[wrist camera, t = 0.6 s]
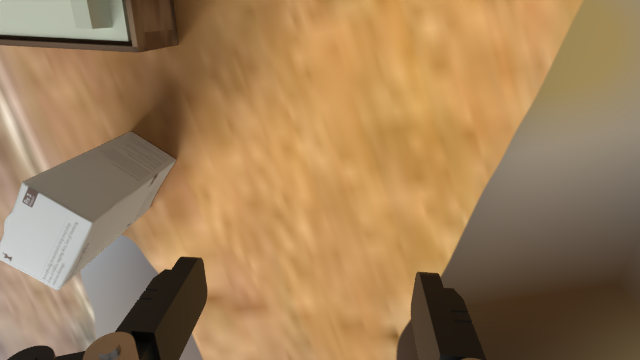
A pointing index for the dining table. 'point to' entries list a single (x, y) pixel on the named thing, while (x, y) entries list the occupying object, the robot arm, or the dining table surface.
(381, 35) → the dining table surface
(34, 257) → the skincare box
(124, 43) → the box
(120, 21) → the lid
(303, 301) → the dining table surface
